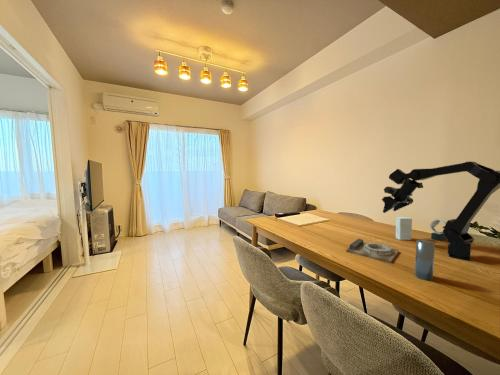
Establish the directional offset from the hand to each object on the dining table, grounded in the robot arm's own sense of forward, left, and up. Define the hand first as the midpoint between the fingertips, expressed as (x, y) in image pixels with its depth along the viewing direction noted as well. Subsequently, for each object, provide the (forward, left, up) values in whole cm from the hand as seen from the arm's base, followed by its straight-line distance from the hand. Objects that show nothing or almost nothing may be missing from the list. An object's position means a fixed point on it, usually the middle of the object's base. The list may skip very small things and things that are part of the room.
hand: (388, 211), depth 117 cm
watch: (-21, -14, -15) cm, 29 cm away
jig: (0, +29, -15) cm, 33 cm away
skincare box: (-7, -2, -15) cm, 17 cm away
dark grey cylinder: (-20, +42, -15) cm, 49 cm away
